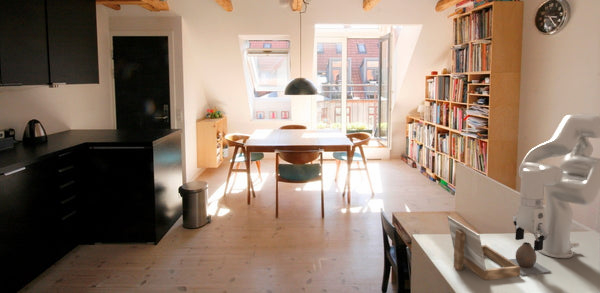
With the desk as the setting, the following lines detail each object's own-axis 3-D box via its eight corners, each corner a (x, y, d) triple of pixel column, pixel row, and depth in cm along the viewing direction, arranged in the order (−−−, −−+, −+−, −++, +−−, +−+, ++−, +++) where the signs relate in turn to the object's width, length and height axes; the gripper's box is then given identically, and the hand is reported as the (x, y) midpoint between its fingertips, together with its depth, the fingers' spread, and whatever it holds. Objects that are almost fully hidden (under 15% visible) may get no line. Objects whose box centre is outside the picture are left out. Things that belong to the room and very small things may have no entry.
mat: (527, 258, 165) (527, 257, 165) (551, 272, 154) (551, 271, 154) (500, 261, 163) (500, 260, 163) (522, 275, 151) (522, 274, 151)
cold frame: (485, 253, 171) (488, 212, 168) (519, 276, 151) (523, 230, 148) (441, 257, 167) (444, 216, 164) (471, 281, 148) (474, 235, 145)
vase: (538, 270, 154) (540, 247, 153) (517, 268, 156) (519, 246, 154) (532, 262, 161) (534, 240, 160) (512, 260, 162) (514, 239, 161)
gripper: (558, 207, 147) (555, 253, 150) (523, 193, 163) (521, 234, 167) (540, 210, 145) (536, 256, 149) (506, 195, 162) (504, 236, 165)
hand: (528, 244), depth 158 cm, fingers open, 9 cm apart
